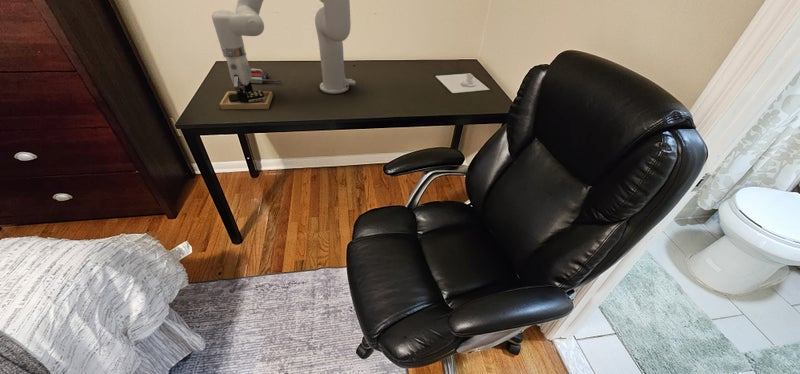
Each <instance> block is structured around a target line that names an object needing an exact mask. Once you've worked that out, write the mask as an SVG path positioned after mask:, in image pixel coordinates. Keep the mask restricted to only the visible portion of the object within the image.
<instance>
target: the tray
mask: <svg viewBox="0 0 800 374" xmlns="http://www.w3.org/2000/svg"><path fill="white" fill-rule="evenodd" d="M261 91H262V92H263V93H264V96H265V99H264V100H261V101H255V102H248V103H230V101H229V95H231V94H237V92H236V91H227V92H226V93H225V94H224V96H223V98H222V99H221V101H220V102H219V107H220V110H269V108H270V105H271V103H272V100H273V97H274V95H273V92H272V91H263V90H261Z"/></svg>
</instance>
